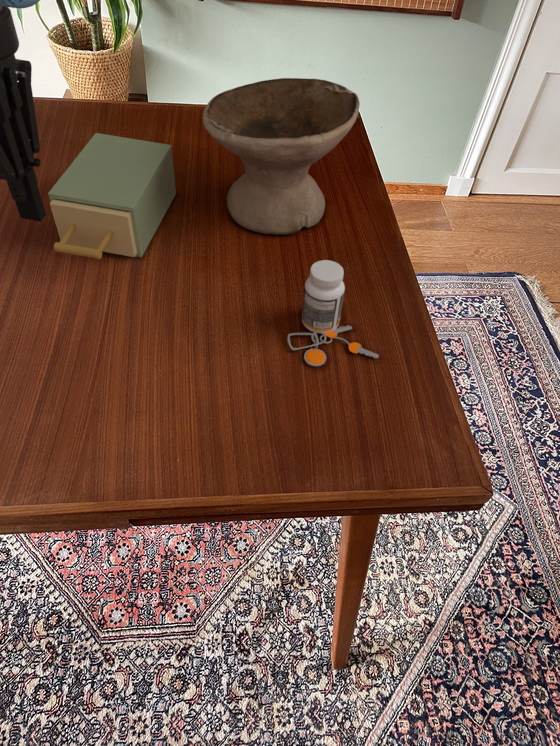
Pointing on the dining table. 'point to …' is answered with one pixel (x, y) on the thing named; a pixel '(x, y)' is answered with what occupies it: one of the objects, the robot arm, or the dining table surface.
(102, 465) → the dining table surface
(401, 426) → the dining table surface
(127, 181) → the cabinet
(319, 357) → the key chain
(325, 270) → the pill bottle
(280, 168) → the bowl
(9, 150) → the robot arm
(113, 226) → the drawer
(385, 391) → the dining table surface
